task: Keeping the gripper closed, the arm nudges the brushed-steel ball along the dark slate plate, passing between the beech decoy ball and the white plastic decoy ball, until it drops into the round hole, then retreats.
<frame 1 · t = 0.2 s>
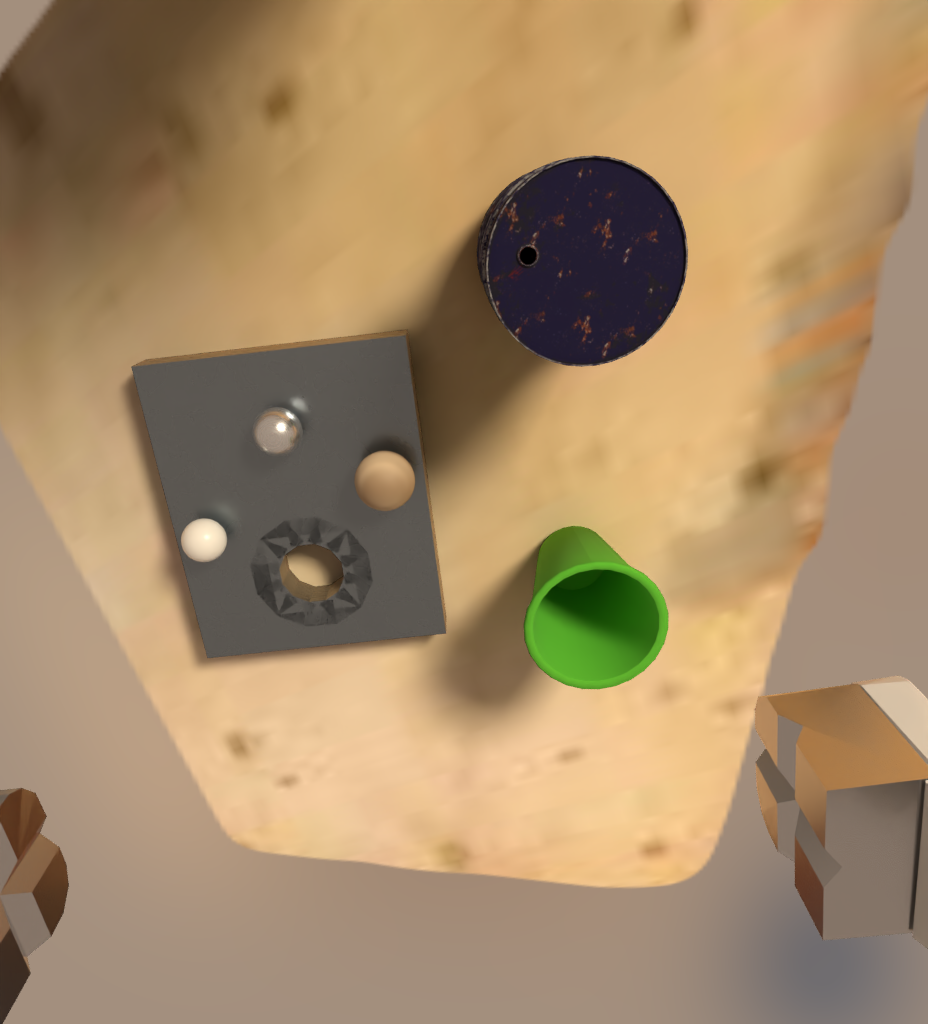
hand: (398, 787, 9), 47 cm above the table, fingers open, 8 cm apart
wood ball: (384, 480, 53), point 4 cm above the table, touching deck
cup: (571, 555, 60), on the table
steel ball: (277, 431, 52), point 4 cm above the table, touching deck
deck: (305, 496, 58), on the table
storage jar: (550, 250, 52), on the table
plastic ball: (204, 540, 55), point 4 cm above the table, touching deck
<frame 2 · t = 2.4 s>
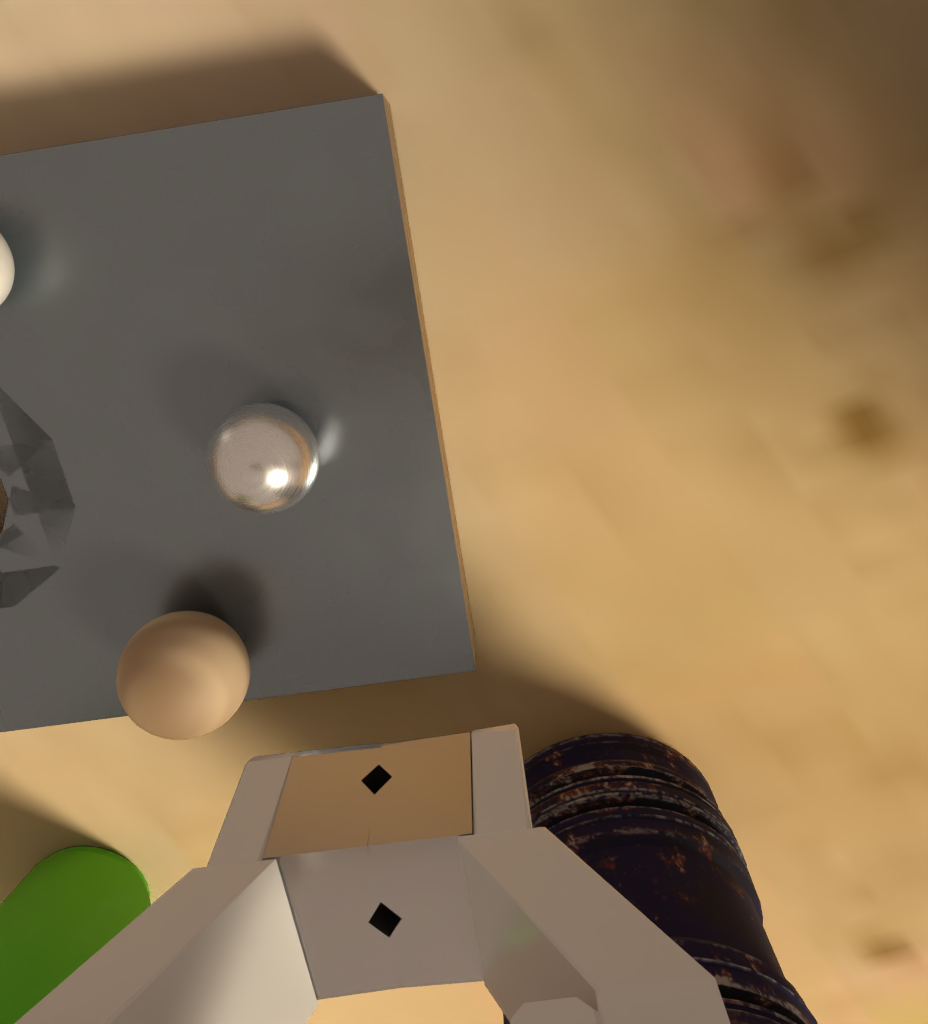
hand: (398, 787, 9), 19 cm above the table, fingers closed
wood ball: (185, 674, 25), point 4 cm above the table, touching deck
cup: (94, 886, 34), on the table
steel ball: (263, 458, 23), point 4 cm above the table, touching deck
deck: (118, 447, 27), on the table
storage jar: (601, 825, 33), on the table
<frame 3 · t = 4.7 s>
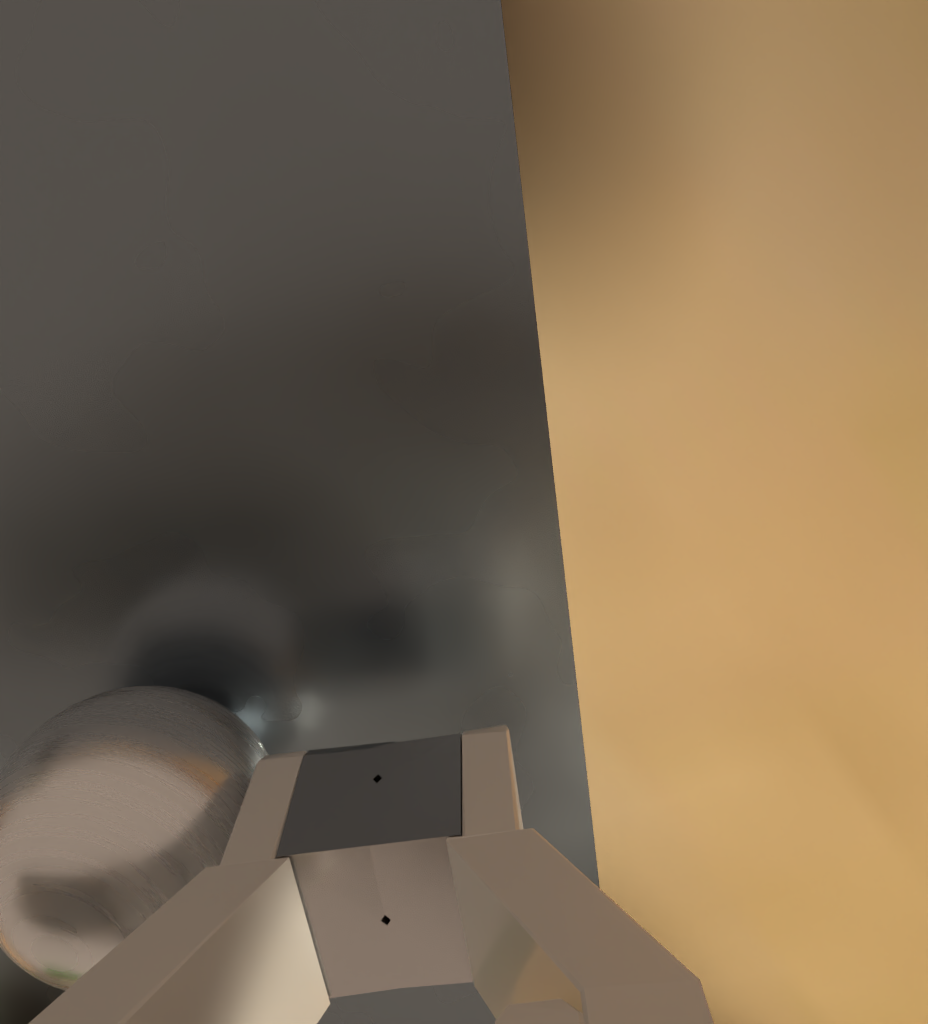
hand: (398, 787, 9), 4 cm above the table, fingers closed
steel ball: (138, 830, 9), point 4 cm above the table, tilted 7°, touching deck, gripper
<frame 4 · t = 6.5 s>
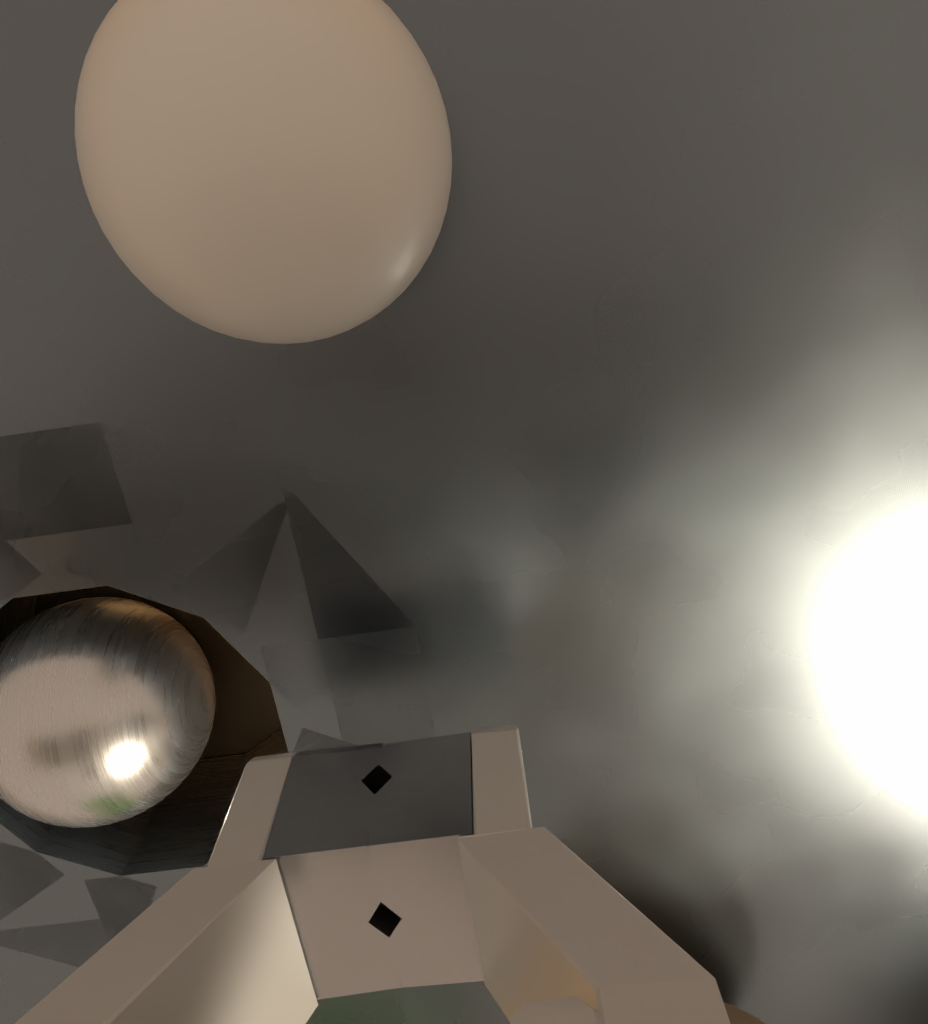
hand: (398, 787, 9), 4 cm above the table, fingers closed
steel ball: (99, 708, 11), point 2 cm above the table, tilted 92°
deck: (481, 605, 13), on the table
plastic ball: (273, 161, 7), point 4 cm above the table, touching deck
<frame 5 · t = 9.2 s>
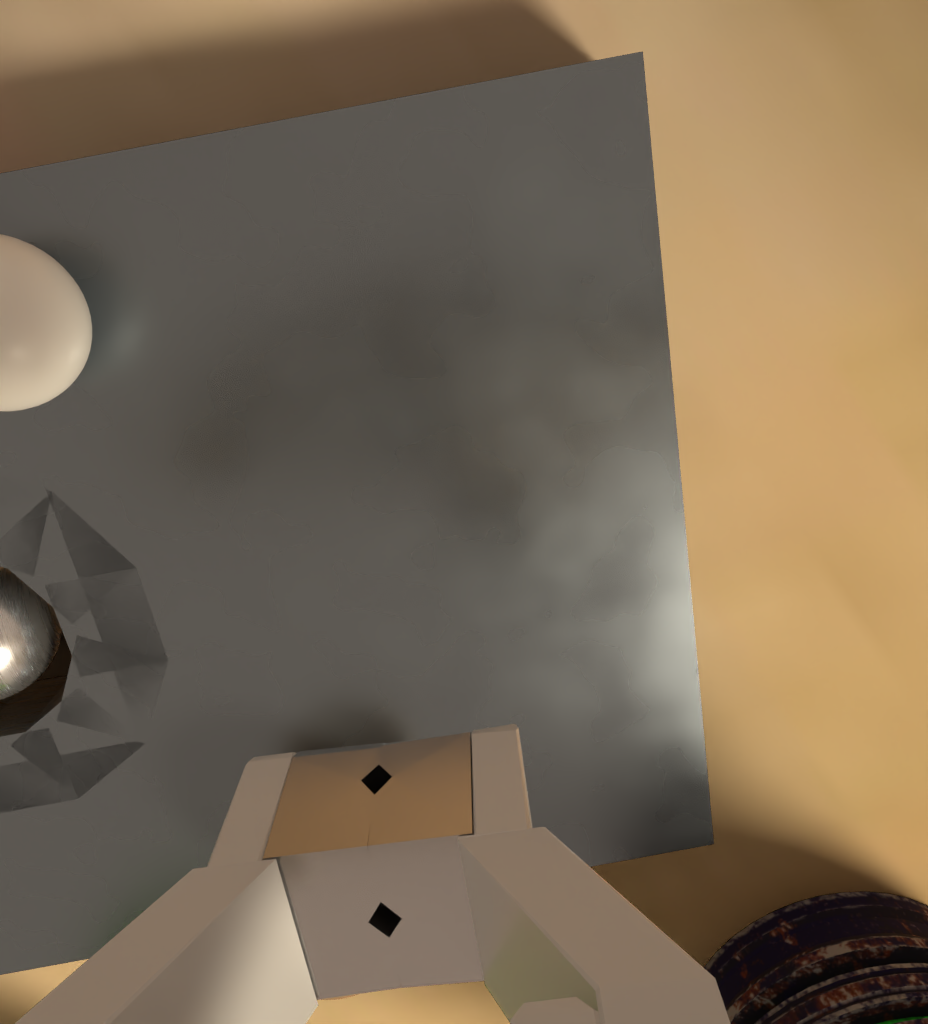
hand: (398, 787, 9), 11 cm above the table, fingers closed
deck: (214, 564, 20), on the table
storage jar: (826, 1002, 26), on the table
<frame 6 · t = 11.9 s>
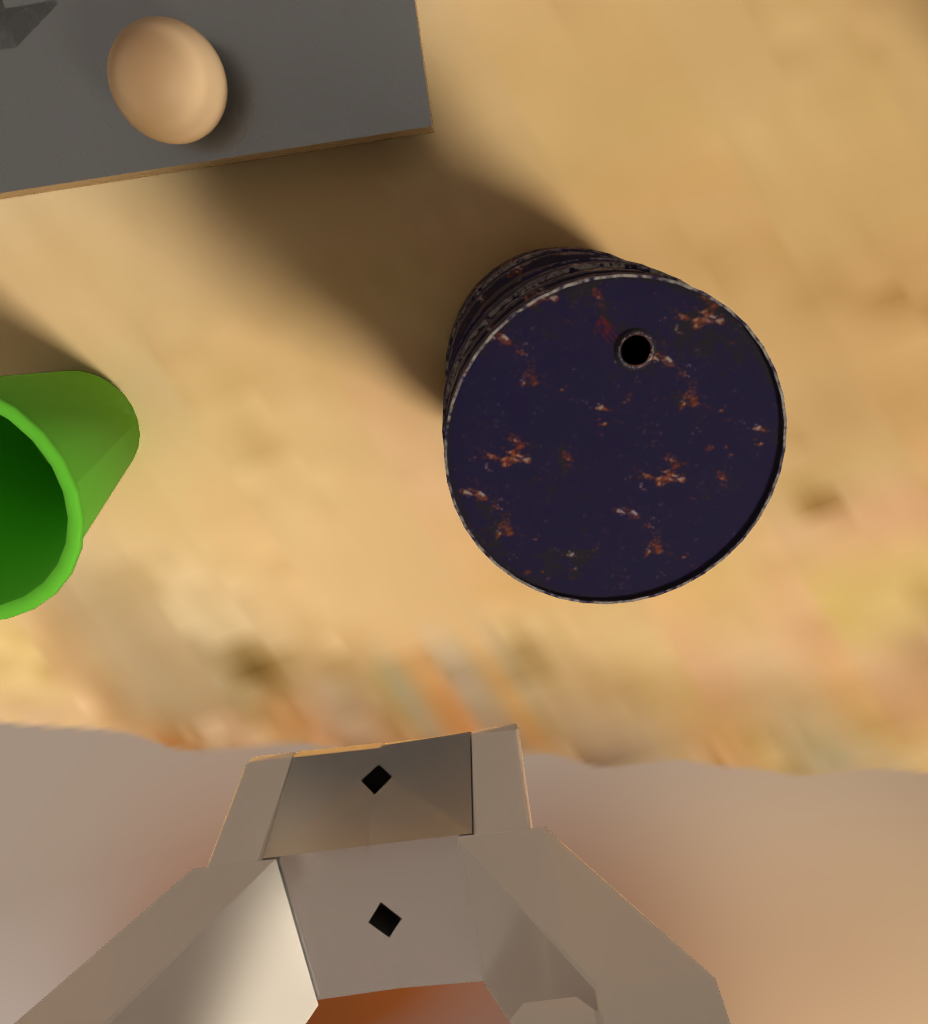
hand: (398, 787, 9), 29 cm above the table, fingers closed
wood ball: (168, 82, 28), point 4 cm above the table, touching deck
cup: (88, 423, 37), on the table
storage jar: (553, 357, 36), on the table
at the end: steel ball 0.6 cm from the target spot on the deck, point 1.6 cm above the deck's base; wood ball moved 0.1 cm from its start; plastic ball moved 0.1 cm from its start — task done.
